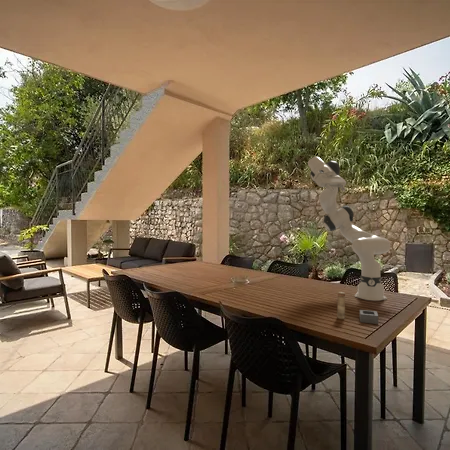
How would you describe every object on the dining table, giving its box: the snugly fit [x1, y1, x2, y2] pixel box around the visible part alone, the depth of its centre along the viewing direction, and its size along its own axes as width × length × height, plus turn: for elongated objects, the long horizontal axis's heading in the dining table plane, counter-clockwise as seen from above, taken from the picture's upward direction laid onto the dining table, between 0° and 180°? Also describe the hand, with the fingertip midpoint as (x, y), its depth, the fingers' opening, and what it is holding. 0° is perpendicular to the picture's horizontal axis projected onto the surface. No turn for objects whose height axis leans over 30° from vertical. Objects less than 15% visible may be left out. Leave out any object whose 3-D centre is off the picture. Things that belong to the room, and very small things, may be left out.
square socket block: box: [358, 309, 379, 325], centre depth 162 cm, size 8×8×4 cm
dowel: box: [336, 291, 346, 320], centre depth 166 cm, size 4×4×13 cm
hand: (338, 190), depth 188 cm, fingers open, 8 cm apart
